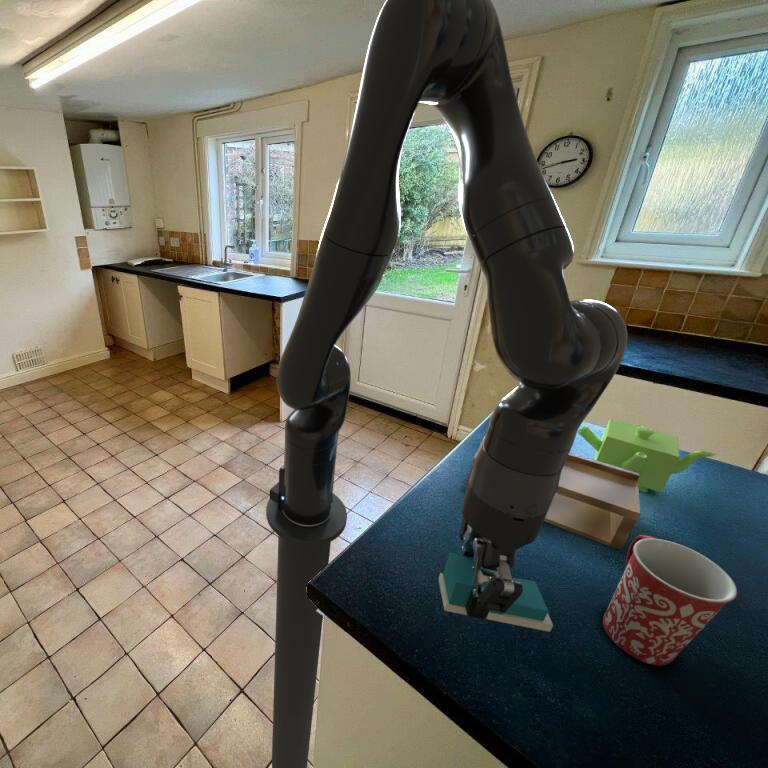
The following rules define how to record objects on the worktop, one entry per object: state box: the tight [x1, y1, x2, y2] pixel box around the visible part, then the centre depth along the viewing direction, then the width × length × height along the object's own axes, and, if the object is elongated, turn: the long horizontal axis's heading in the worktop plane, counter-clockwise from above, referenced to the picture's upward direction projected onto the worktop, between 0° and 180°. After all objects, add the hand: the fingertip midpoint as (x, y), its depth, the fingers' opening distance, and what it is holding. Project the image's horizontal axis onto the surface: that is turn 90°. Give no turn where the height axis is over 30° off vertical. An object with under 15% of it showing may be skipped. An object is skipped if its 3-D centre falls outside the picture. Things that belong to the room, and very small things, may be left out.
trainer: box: [438, 552, 554, 633], centre depth 50 cm, size 12×5×5 cm, turn 77°
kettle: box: [577, 418, 718, 493], centre depth 83 cm, size 15×14×11 cm
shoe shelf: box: [464, 428, 641, 551], centre depth 76 cm, size 24×11×9 cm, turn 52°
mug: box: [602, 534, 738, 666], centre depth 53 cm, size 13×9×14 cm
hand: (470, 595), depth 51 cm, fingers closed on trainer, 4 cm apart
